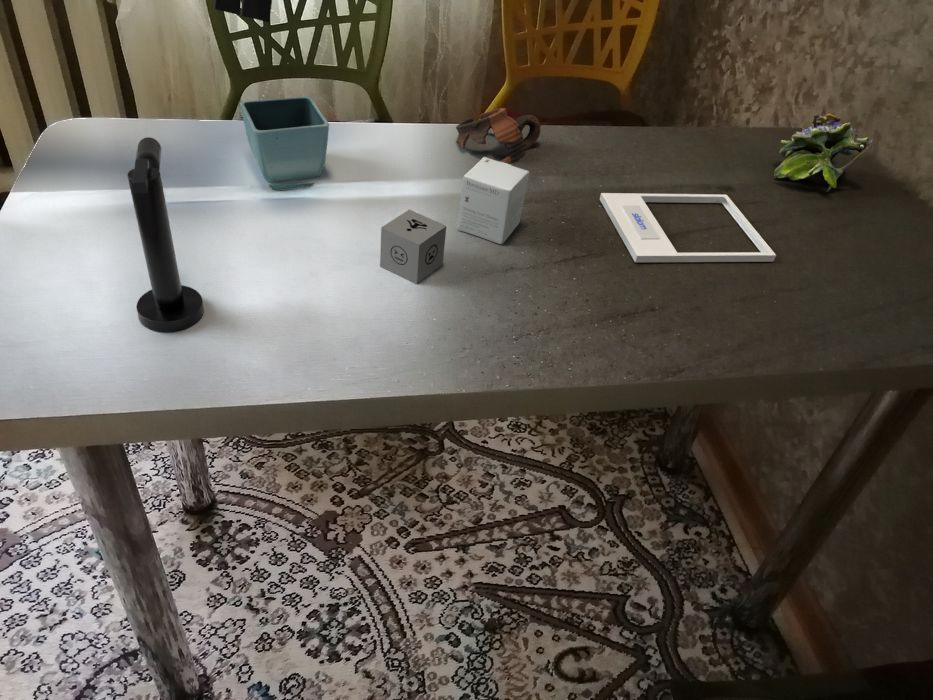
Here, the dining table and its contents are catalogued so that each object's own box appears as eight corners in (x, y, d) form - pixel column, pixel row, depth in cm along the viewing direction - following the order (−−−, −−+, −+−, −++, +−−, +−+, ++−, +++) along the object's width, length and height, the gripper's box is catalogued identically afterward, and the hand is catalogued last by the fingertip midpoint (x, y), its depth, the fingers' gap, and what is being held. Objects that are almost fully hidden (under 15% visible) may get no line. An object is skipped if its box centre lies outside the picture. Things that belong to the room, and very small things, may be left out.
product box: (455, 230, 89) (461, 175, 85) (476, 208, 94) (483, 155, 89) (502, 246, 88) (511, 190, 83) (521, 223, 92) (530, 169, 87)
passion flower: (790, 200, 116) (848, 136, 113) (835, 225, 107) (899, 157, 104) (748, 159, 111) (807, 91, 107) (791, 183, 102) (857, 109, 98)
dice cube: (442, 263, 84) (446, 225, 81) (416, 283, 80) (419, 244, 77) (407, 247, 86) (409, 209, 82) (380, 266, 82) (381, 227, 79)
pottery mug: (486, 187, 99) (465, 127, 96) (459, 185, 107) (439, 129, 104) (561, 154, 102) (543, 94, 99) (529, 153, 110) (512, 98, 107)
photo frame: (601, 191, 98) (727, 193, 101) (599, 199, 99) (724, 200, 102) (637, 254, 87) (776, 253, 90) (635, 262, 88) (773, 261, 91)
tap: (143, 271, 77) (110, 124, 67) (204, 268, 79) (181, 123, 68) (136, 338, 70) (97, 183, 59) (203, 332, 71) (178, 181, 61)
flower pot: (245, 167, 96) (238, 100, 90) (313, 160, 99) (310, 95, 93) (260, 201, 90) (254, 131, 84) (331, 193, 93) (330, 125, 87)
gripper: (343, -229, 64) (308, 31, 72) (270, -184, 84) (248, 17, 91) (256, -267, 61) (228, 12, 68) (201, -210, 80) (184, 1, 87)
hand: (239, 15), depth 80 cm, fingers open, 13 cm apart
